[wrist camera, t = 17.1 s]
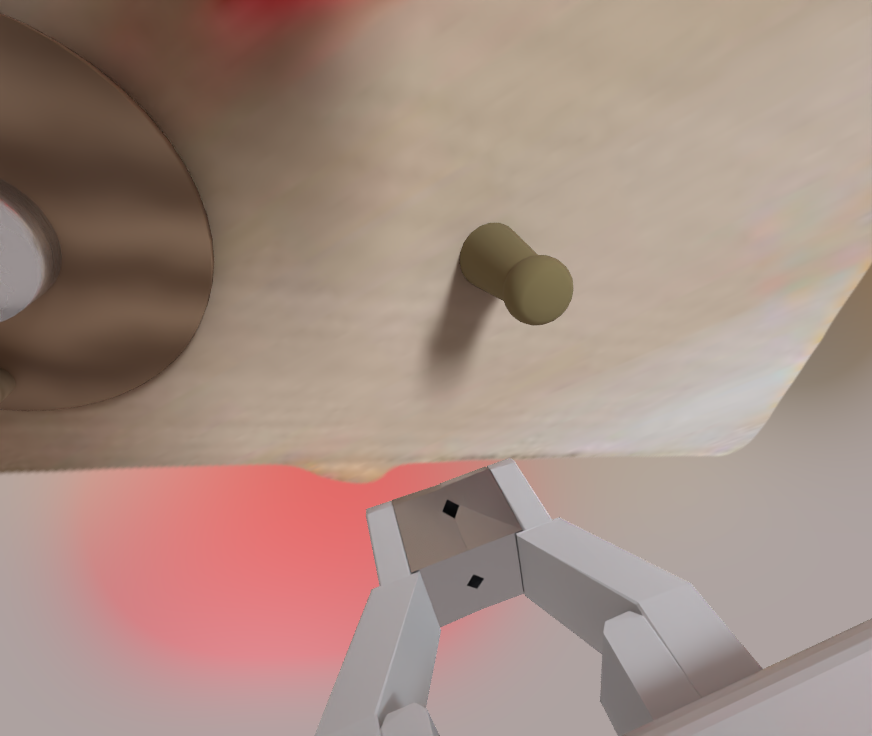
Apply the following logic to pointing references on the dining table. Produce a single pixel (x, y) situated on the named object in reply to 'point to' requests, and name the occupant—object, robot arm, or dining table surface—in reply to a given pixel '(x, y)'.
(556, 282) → the olive pawn
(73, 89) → the lazy susan
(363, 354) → the dining table surface
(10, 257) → the aluminium cover
